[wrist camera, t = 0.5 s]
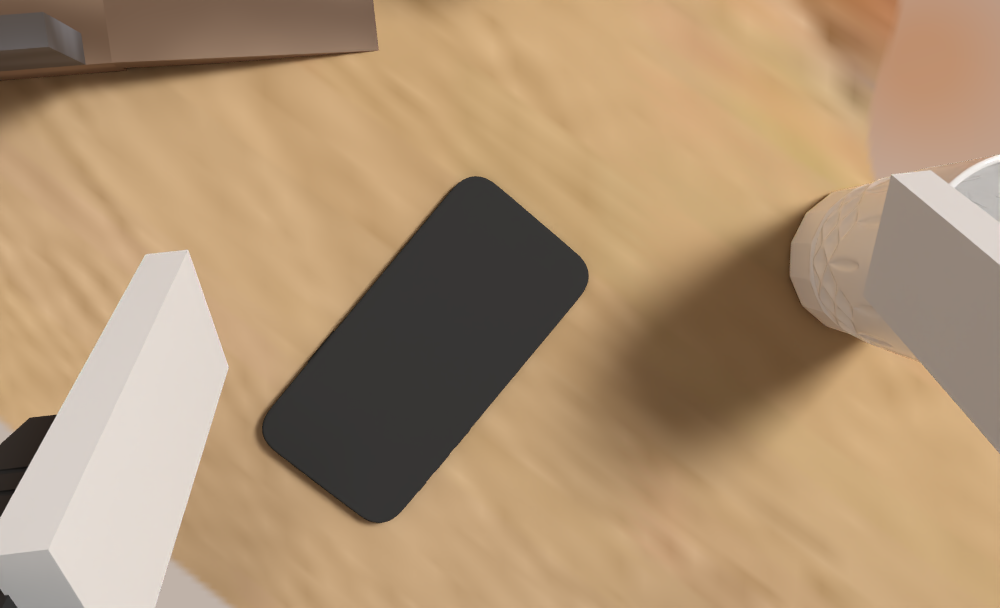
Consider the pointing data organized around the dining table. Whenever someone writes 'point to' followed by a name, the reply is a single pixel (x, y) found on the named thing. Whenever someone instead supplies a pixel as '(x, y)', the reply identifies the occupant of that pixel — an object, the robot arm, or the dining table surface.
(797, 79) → the dining table surface
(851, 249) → the white cup
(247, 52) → the dock
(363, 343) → the phone
